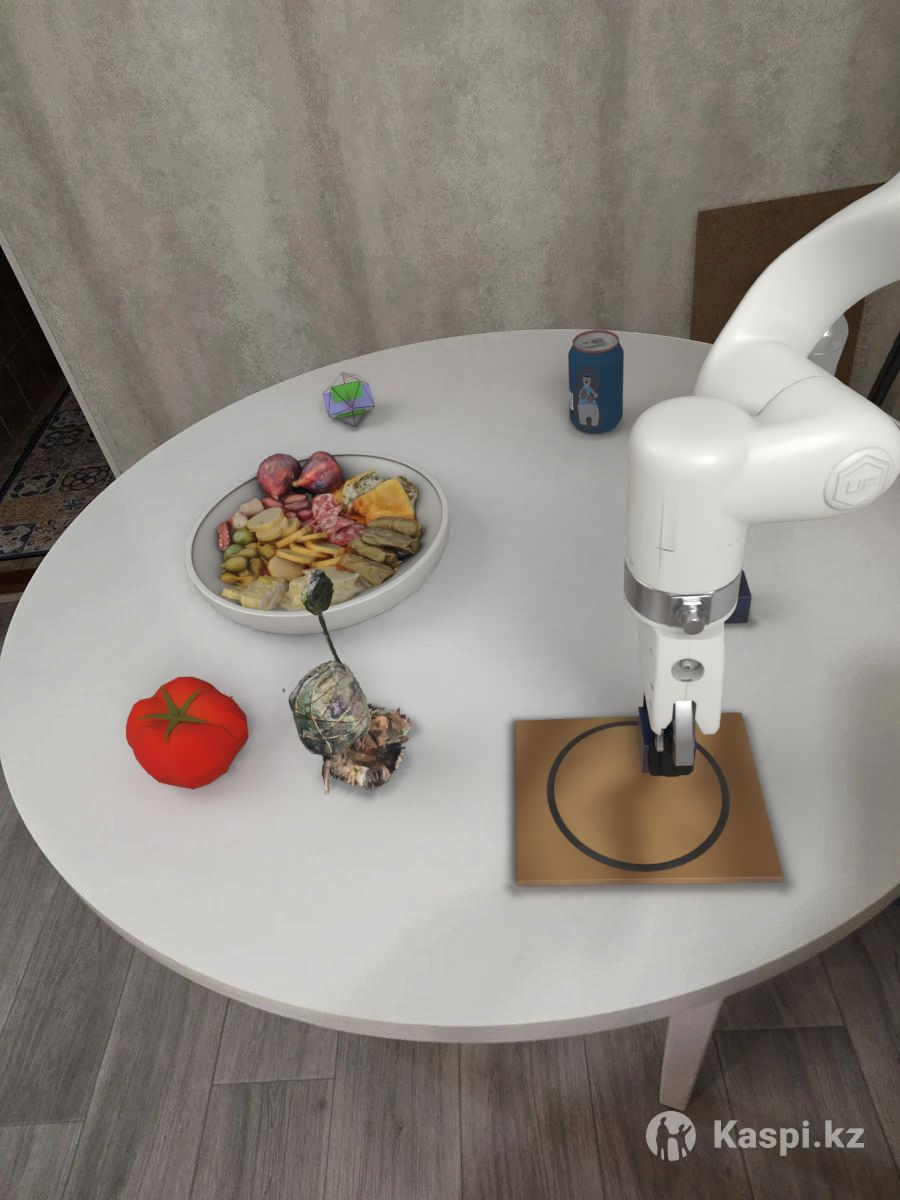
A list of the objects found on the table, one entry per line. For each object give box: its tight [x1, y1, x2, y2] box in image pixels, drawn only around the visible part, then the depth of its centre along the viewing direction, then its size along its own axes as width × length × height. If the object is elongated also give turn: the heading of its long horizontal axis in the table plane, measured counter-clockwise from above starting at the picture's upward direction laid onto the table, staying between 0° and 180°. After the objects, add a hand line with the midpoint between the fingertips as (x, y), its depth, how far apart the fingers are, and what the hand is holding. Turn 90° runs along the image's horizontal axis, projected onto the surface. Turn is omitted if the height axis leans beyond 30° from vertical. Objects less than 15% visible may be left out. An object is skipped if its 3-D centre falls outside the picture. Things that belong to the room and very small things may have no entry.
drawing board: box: [515, 712, 784, 887], centre depth 72 cm, size 20×16×1 cm
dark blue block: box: [724, 569, 753, 625], centre depth 86 cm, size 4×4×4 cm
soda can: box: [567, 329, 625, 436], centre depth 112 cm, size 7×7×12 cm
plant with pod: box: [281, 569, 414, 796], centre depth 72 cm, size 8×11×20 cm
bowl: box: [184, 450, 451, 635], centre depth 98 cm, size 30×30×8 cm
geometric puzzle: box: [321, 371, 376, 429], centre depth 122 cm, size 7×7×8 cm
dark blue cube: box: [637, 706, 697, 773], centre depth 69 cm, size 4×4×4 cm
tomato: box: [125, 676, 250, 790], centre depth 79 cm, size 10×11×6 cm
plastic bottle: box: [807, 313, 849, 377], centre depth 100 cm, size 6×7×20 cm
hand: (665, 747), depth 70 cm, fingers closed on dark blue cube, 4 cm apart
